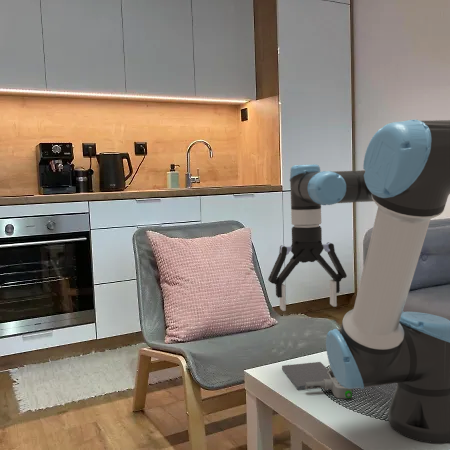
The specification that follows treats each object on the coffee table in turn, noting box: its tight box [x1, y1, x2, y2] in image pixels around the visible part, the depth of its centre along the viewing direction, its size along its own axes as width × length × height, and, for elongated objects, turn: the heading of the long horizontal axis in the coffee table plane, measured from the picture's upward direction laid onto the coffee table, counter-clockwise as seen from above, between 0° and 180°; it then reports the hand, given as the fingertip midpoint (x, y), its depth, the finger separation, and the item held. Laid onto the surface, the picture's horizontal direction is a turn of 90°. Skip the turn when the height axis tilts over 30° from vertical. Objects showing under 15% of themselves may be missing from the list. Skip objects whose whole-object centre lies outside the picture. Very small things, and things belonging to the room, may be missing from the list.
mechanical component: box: [305, 369, 353, 399], centre depth 123 cm, size 3×10×10 cm
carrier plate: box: [281, 361, 329, 391], centre depth 133 cm, size 14×11×1 cm
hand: (308, 307), depth 131 cm, fingers open, 13 cm apart
